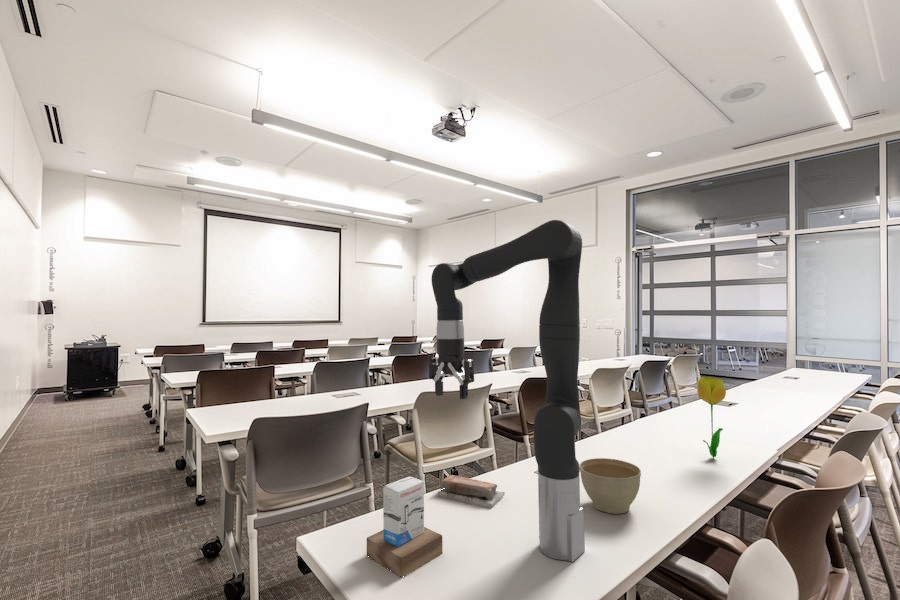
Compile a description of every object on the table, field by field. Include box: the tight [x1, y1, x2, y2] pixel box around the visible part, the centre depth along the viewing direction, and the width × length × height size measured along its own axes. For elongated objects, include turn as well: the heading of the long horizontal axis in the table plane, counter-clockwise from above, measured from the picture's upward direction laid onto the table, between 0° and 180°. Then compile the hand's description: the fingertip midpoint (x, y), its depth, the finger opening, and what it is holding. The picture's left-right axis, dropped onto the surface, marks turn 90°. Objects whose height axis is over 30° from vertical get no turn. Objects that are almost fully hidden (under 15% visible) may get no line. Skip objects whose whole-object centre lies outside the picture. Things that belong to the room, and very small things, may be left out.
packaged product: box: [437, 474, 506, 509], centre depth 126 cm, size 18×5×10 cm
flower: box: [696, 376, 727, 460], centre depth 156 cm, size 9×8×30 cm
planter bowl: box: [579, 457, 642, 514], centre depth 118 cm, size 16×16×11 cm
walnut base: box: [366, 526, 443, 578], centre depth 95 cm, size 12×12×4 cm
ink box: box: [382, 476, 425, 547], centre depth 95 cm, size 9×5×12 cm, turn 140°
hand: (451, 397), depth 114 cm, fingers open, 8 cm apart
